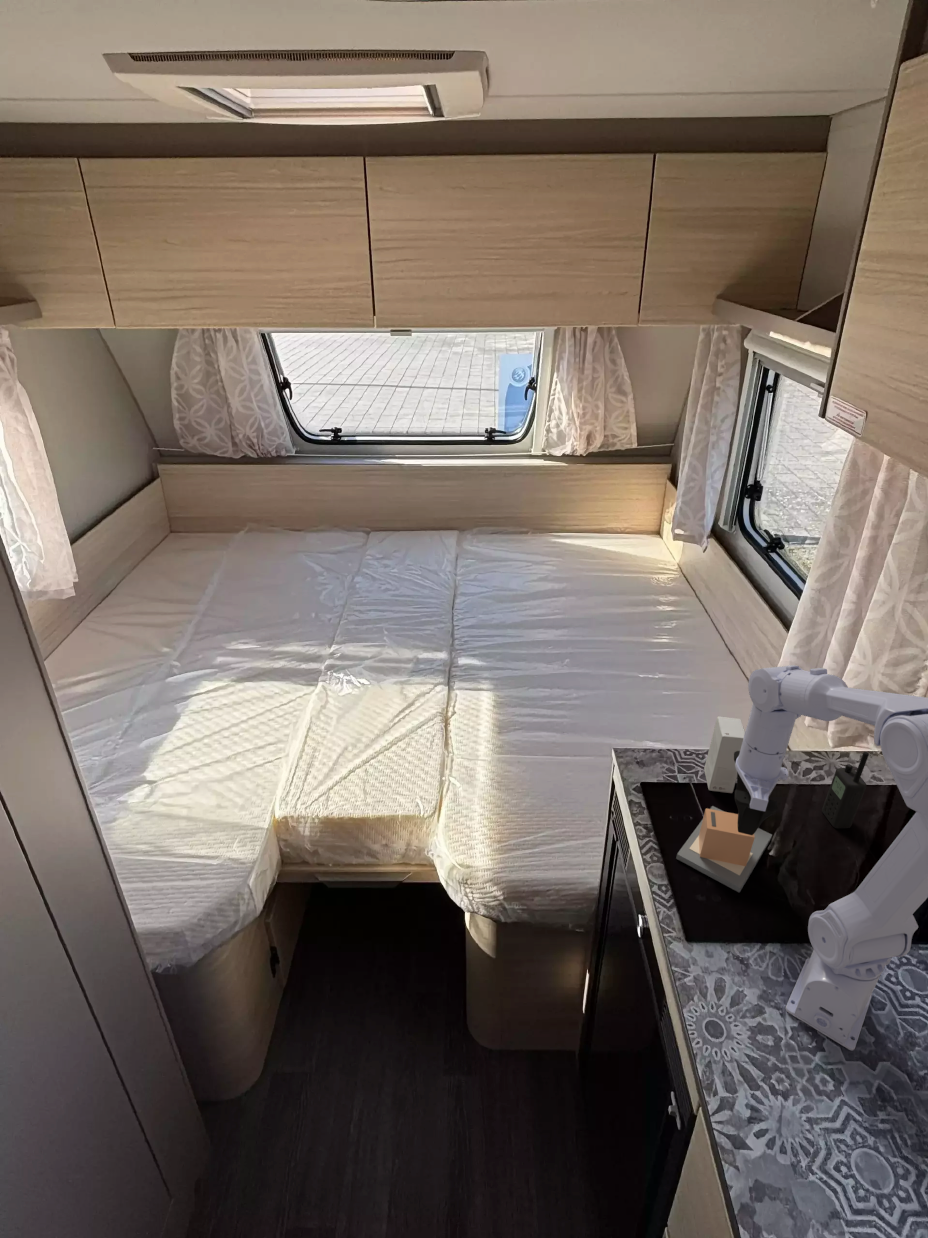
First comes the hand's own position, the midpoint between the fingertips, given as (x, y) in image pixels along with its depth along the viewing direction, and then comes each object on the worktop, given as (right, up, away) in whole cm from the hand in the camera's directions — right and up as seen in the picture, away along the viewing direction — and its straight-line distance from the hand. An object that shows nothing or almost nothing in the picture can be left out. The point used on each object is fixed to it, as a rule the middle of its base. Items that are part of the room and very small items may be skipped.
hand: (744, 814), depth 105 cm
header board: (-1, -7, +6) cm, 10 cm away
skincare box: (+3, 0, +21) cm, 21 cm away
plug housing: (-2, -7, +4) cm, 8 cm away
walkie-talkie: (+21, -5, +13) cm, 25 cm away
